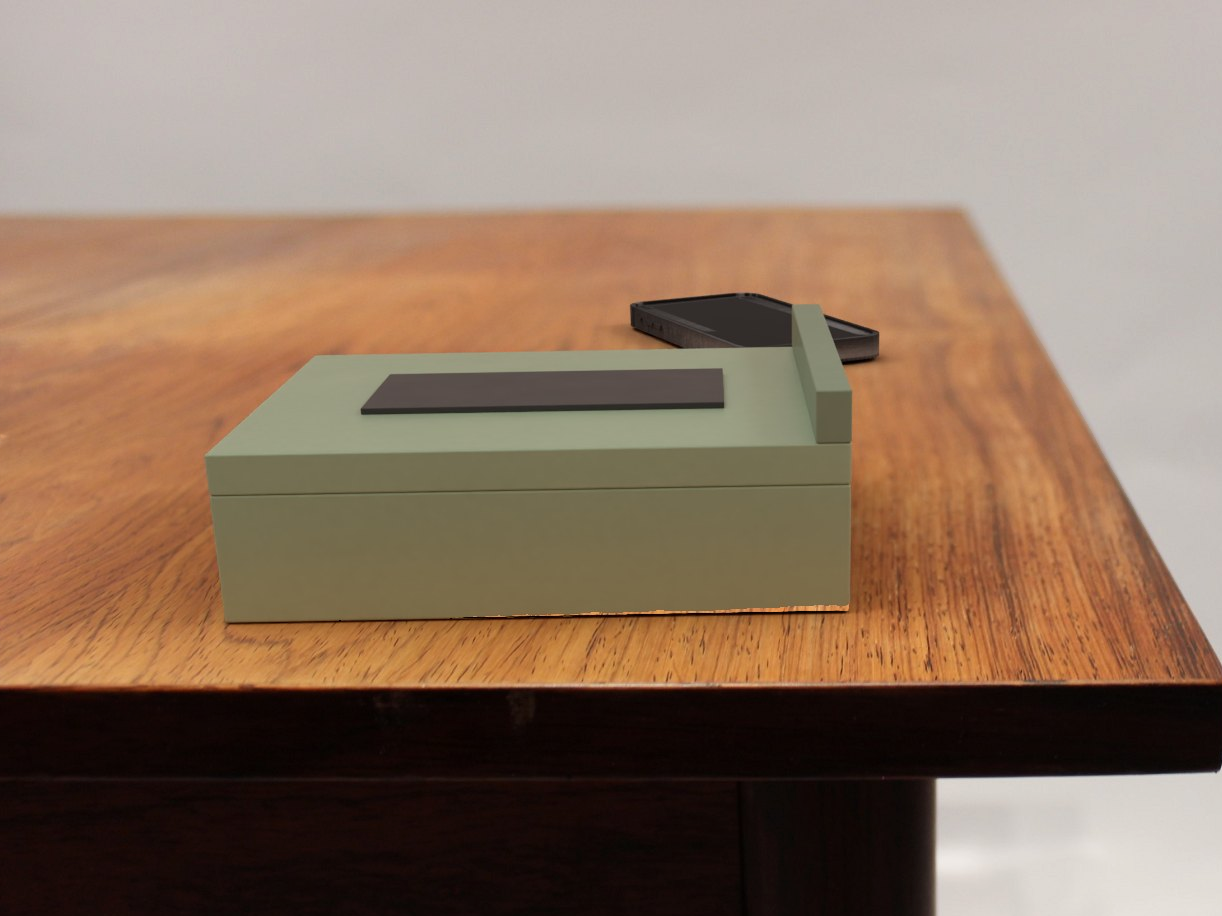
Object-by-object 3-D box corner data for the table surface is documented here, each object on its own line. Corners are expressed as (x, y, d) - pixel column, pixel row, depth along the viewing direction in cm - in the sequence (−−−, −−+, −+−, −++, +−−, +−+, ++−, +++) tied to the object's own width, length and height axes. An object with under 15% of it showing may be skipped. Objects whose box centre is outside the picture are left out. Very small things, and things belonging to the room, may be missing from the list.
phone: (751, 291, 94) (888, 333, 81) (751, 311, 95) (887, 356, 82) (621, 303, 91) (743, 349, 78) (622, 324, 91) (743, 373, 79)
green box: (224, 623, 48) (196, 401, 46) (327, 490, 61) (310, 312, 59) (849, 612, 48) (852, 389, 46) (819, 481, 61) (819, 303, 59)
